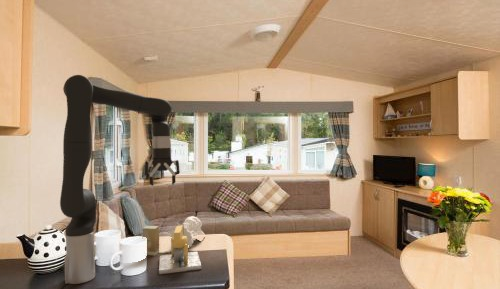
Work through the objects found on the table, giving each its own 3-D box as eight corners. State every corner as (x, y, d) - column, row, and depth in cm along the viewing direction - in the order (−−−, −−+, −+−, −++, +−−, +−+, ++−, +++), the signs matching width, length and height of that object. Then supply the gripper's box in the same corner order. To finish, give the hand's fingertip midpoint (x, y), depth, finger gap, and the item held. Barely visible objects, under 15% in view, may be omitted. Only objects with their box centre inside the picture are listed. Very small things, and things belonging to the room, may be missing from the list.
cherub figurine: (165, 227, 146) (182, 212, 166) (167, 252, 148) (184, 235, 167) (191, 227, 143) (205, 212, 163) (193, 252, 145) (207, 235, 164)
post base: (159, 274, 118) (158, 249, 118) (160, 259, 134) (159, 237, 134) (201, 268, 122) (200, 245, 122) (197, 254, 138) (196, 233, 138)
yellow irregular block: (185, 249, 122) (185, 231, 122) (169, 250, 122) (168, 232, 121) (188, 240, 134) (187, 223, 134) (173, 240, 134) (172, 224, 134)
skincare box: (142, 255, 139) (141, 228, 139) (147, 251, 143) (146, 225, 143) (155, 255, 138) (155, 228, 138) (160, 252, 142) (159, 225, 142)
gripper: (143, 147, 127) (144, 187, 127) (179, 146, 131) (180, 185, 131) (144, 147, 134) (145, 184, 135) (178, 146, 138) (179, 182, 138)
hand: (162, 184), depth 133 cm, fingers open, 8 cm apart
